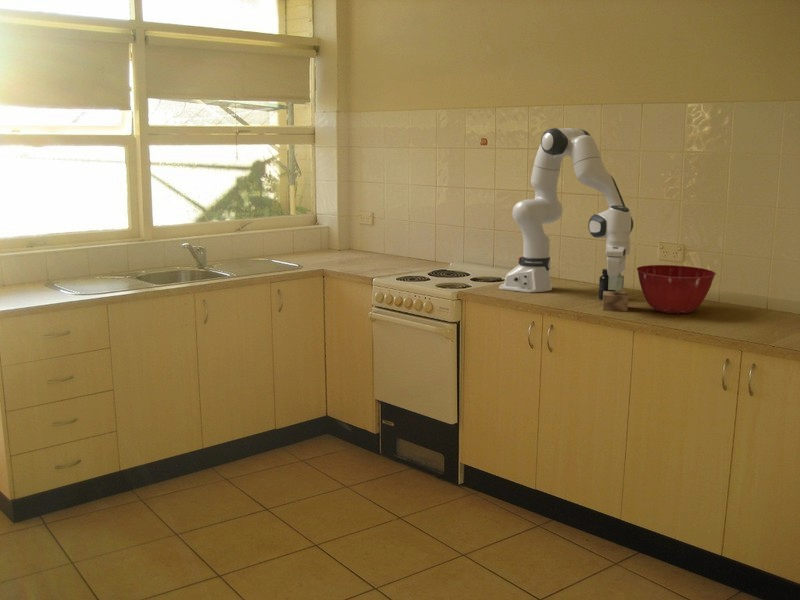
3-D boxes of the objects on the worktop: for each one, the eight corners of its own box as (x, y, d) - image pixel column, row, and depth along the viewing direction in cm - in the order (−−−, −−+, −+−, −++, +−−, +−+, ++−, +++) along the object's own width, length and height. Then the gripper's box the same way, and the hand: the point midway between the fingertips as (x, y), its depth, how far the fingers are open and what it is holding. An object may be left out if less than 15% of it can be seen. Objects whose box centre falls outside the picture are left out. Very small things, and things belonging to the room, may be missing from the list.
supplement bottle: (616, 300, 331) (617, 271, 329) (598, 299, 333) (600, 270, 330) (615, 297, 338) (616, 268, 336) (598, 296, 339) (599, 267, 337)
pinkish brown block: (602, 310, 312) (603, 295, 311) (602, 306, 321) (603, 291, 320) (627, 311, 311) (628, 296, 309) (626, 307, 319) (627, 291, 318)
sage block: (608, 289, 313) (608, 276, 312) (610, 287, 318) (610, 274, 317) (621, 290, 311) (622, 277, 310) (623, 288, 316) (624, 275, 315)
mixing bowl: (712, 305, 321) (715, 266, 318) (713, 320, 294) (716, 278, 291) (637, 300, 330) (639, 262, 327) (631, 315, 304) (634, 273, 301)
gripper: (613, 245, 322) (611, 280, 325) (604, 251, 303) (603, 288, 306) (630, 246, 320) (628, 281, 322) (622, 252, 301) (620, 289, 304)
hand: (615, 284), depth 314 cm, fingers closed on sage block, 5 cm apart
